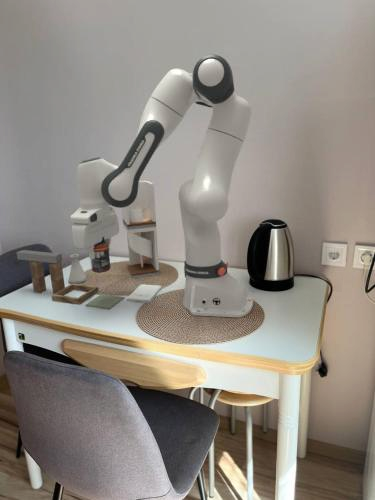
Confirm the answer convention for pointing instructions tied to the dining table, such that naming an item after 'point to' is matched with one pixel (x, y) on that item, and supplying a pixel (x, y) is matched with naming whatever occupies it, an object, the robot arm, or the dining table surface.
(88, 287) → the holder
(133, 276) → the candle lantern
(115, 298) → the mat
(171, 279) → the dining table surface
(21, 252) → the grey rectangular bar
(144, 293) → the external hard drive
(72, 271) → the flask
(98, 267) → the supplement bottle
